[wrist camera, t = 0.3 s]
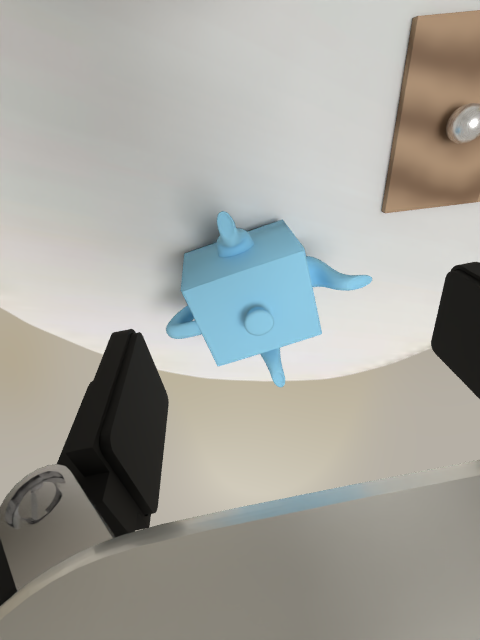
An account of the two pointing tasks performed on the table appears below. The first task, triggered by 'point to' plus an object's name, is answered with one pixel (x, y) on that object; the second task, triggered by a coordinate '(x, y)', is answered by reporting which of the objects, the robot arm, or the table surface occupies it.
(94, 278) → the table surface
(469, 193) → the walnut board
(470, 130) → the steel ball
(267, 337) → the teakettle
